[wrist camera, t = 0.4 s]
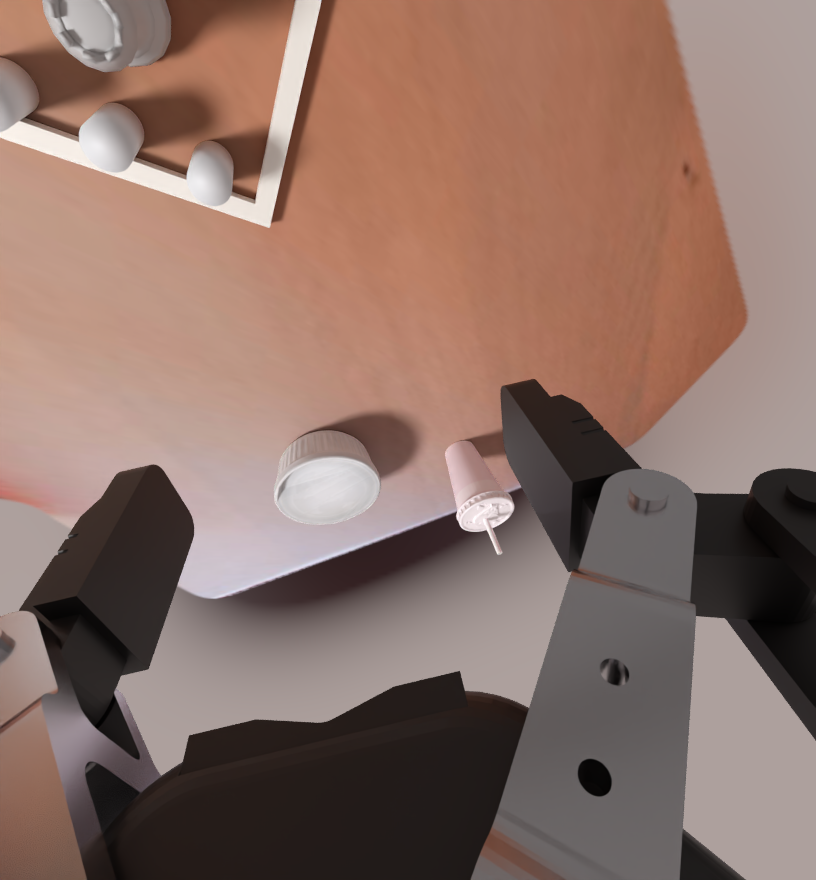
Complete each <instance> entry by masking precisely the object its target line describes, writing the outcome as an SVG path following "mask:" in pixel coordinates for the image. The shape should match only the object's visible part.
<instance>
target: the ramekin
mask: <svg viewBox="0 0 816 880" xmlns="http://www.w3.org/2000/svg"><path fill="white" fill-rule="evenodd" d="M380 489H381V480H380V476H379V473H378V471H377V469H376V467H375V466H374V465H373V463H372V461H371V459H370V457H369V455H368V452H367V450H366V449H365V447H364V445H363V444H362V443H361V442H360V441H359V440H357V439H356V438H354V437H353V436H351V435H348V434H346V433H343V432H339V431H333V430H323V431H316V432H312V433H309V434H306V435H304V436H302V437H300V438H298V439H297V440H295V441H294V442H293V443H291V444H290V445H289V446H288V447H287V449H286V450H285V451H284V453H283V455H282V457H281V459H280V463H279V469H278V476H277V480H276V482H275V486H274V500H275V503H276V505H277V507H278V509H279V510H280V511H281V512H282V513H283V514H284V515H285V516H287V517H289V518H290V519H292V520H295V521H297V522H301V523H305V524H312V525H326V524H334V523H338V522H342V521H345V520H348V519H351V518H353V517H355V516H357V515H359V514H361V513H363V512H364V511H366V510H367V509H368V508H370V507H371V505H372V504H373V503H374V502H375V500H376V499H377V497H378V495H379V493H380Z"/></svg>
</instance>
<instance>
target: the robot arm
mask: <svg viewBox="0 0 816 880" xmlns="http://www.w3.org/2000/svg"><path fill="white" fill-rule="evenodd" d="M501 410H502V426H503V441H504V448H505V452H506V456H507V459H508V462H509V464H510V466H511V468H512V470H513V472H514V474H515V476H516V477H517V479H518V481H519V483H520V485H521V487H522V488H523V490H524V492H525V494H526V496H527V498H528V499H529V501H530V503H531V505H532V507H533V508H534V510H535V512H536V514H537V516H538V518H539V519H540V521H541V523H542V525H543V527H544V529H545V530H546V532H547V534H548V536H549V537H550V539H551V541H552V543H553V545H554V547H555V549H556V551H557V552H558V554H559V556H560V558H561V559H562V562H563V563H564V565H565V567H566V569H567V571H568V572H571V571H572V573H571V575H570V578H569V581H568V584H567V587H566V590H565V593H564V597H563V600H562V603H561V606H560V610H559V613H558V616H557V620H556V623H555V626H554V629H553V632H552V636H551V639H550V642H549V645H548V649H547V652H546V655H545V658H544V662H543V665H542V668H541V671H540V675H539V678H538V681H537V685H536V688H535V691H534V694H533V698H532V701H531V704H530V707H529V708H528V707H526V706H524V705H522V704H520V703H518V702H515V701H513V700H510V699H507V698H504V697H501V696H498V695H494V694H488V693H483V692H473V691H465V690H464V686H463V682H462V678H461V674H460V671H458V672H454V673H450V674H445V675H441V676H437V677H433V678H428V679H424V680H420V681H416V682H412V683H407V684H403V685H399V686H395V687H392V688H391V689H389V690H387V691H385V692H383V693H381V694H379V695H377V696H376V697H374V698H372V699H370V700H368V701H366V702H364V703H362V704H361V705H359V706H357V707H355V708H353V709H351V710H349V711H347V712H346V713H344V714H342V715H340V716H338V717H336V718H334V719H332V720H330V721H328V722H323V723H311V722H292V721H274V720H252V721H248V722H244V723H240V724H235V725H231V726H227V727H223V728H219V729H214V730H210V731H206V732H202V733H198V734H193V735H190V736H189V738H188V742H187V747H186V751H185V755H184V759H183V762H182V763H181V764H179V765H177V766H176V767H174V768H173V769H171V770H170V771H168V772H166V773H165V774H163V775H162V776H161V775H160V773H159V772H158V770H157V769H156V767H155V765H154V763H153V761H152V758H151V756H150V754H149V752H148V749H147V747H146V745H145V743H144V740H143V738H142V736H141V734H140V731H139V729H138V727H137V724H136V722H135V720H134V718H133V715H132V713H131V711H130V709H129V706H128V704H127V702H126V700H125V697H124V696H123V694H122V693H121V692H120V691H119V690H117V689H116V687H117V684H118V681H119V679H120V677H121V676H122V675H126V674H130V673H134V672H139V671H143V670H147V669H149V666H150V663H151V660H152V657H153V654H154V651H155V648H156V646H157V643H158V640H159V637H160V634H161V631H162V628H163V625H164V622H165V619H166V616H167V613H168V610H169V607H170V605H171V601H172V599H173V596H174V593H175V590H176V587H177V584H178V581H179V578H180V575H181V573H182V570H183V567H184V564H185V561H186V558H187V555H188V552H189V549H190V546H191V543H192V540H193V537H194V524H193V519H192V516H191V514H190V512H189V510H188V509H187V507H186V505H185V504H184V502H183V501H182V499H181V497H180V496H179V494H178V493H177V491H176V490H175V488H174V486H173V485H172V483H171V482H170V480H169V478H168V477H167V475H166V474H165V472H164V471H163V470H162V469H161V468H160V467H159V466H157V465H149V466H144V467H140V468H135V469H131V470H127V471H122V472H119V473H118V474H116V476H115V477H114V479H113V480H112V482H111V483H110V485H109V487H108V488H107V490H106V491H105V493H104V494H103V496H102V498H101V499H99V500H98V501H97V502H96V503H95V504H94V505H93V506H92V507H91V508H90V509H89V510H87V511H86V512H85V513H84V514H83V515H82V516H81V517H80V518H79V520H78V521H77V523H76V524H75V526H74V527H73V529H72V530H71V532H70V534H69V535H68V537H69V539H66V540H65V541H64V543H63V544H62V546H61V547H60V549H59V550H58V555H56V556H54V558H53V559H52V561H51V562H50V564H49V566H48V567H47V568H46V570H45V572H44V573H43V575H42V576H41V578H40V579H39V581H38V582H37V584H36V585H35V587H34V588H33V590H32V591H31V593H30V594H29V596H28V598H27V599H26V600H25V602H24V603H23V605H22V606H21V608H20V610H19V611H17V612H12V613H8V614H6V615H4V616H0V880H745V879H744V878H743V877H742V876H740V875H739V874H738V873H737V872H736V871H734V870H733V869H732V868H731V867H729V866H728V865H727V864H726V863H725V862H723V861H722V860H721V859H720V858H718V857H717V856H716V855H715V854H714V853H712V852H711V851H710V850H709V849H707V848H706V847H705V846H704V845H702V844H701V843H700V842H699V841H697V840H696V839H695V838H694V837H692V836H691V835H690V834H689V833H688V832H686V831H685V830H684V829H683V816H684V800H685V784H686V768H687V751H688V735H689V720H690V703H691V687H692V672H693V655H694V639H695V622H696V616H704V617H717V618H725V619H726V620H727V621H728V623H729V624H730V625H731V627H732V628H733V629H734V631H735V632H736V633H737V635H738V636H739V637H740V639H741V640H742V642H743V643H744V644H745V646H746V647H747V648H748V650H749V651H750V652H751V654H752V655H753V656H754V658H755V659H756V660H757V662H758V663H759V664H760V666H761V667H762V669H763V670H764V671H765V673H766V674H767V675H768V677H769V678H770V679H771V681H772V682H773V683H774V685H775V686H776V687H777V689H778V690H779V691H780V693H781V694H782V695H783V697H784V698H785V700H786V701H787V702H788V704H789V705H790V706H791V708H792V709H793V710H794V712H795V713H796V714H797V716H798V717H799V718H800V720H801V721H802V722H803V724H804V725H805V727H806V728H807V729H808V731H809V732H810V733H811V735H812V736H813V737H814V739H815V740H816V472H813V471H809V470H802V469H791V468H788V469H775V470H771V471H767V472H764V473H762V474H760V475H759V476H758V477H756V479H755V480H754V481H753V484H752V487H751V490H750V493H749V494H703V493H693V492H692V490H691V489H690V488H689V487H688V486H687V485H686V484H685V483H683V482H682V481H681V480H679V479H677V478H675V477H673V476H671V475H668V474H666V473H663V472H659V471H655V470H649V469H642V468H641V467H640V466H639V465H638V464H637V463H636V462H635V461H634V460H633V459H632V458H631V457H630V455H629V454H628V453H627V452H626V451H625V450H624V449H623V448H622V447H621V446H620V445H619V444H618V443H617V442H616V441H615V440H614V438H613V437H612V436H611V435H610V434H609V433H608V432H607V431H606V430H605V431H604V430H603V427H602V426H601V425H600V424H599V422H598V421H597V420H596V419H593V416H592V415H591V414H590V413H589V412H588V411H587V410H586V409H585V408H584V406H583V405H582V404H581V403H578V402H576V401H574V400H572V399H570V398H568V397H566V396H564V395H557V396H553V397H550V396H549V395H548V393H547V392H546V391H545V390H544V389H543V388H542V386H541V385H540V384H539V383H538V382H537V381H536V380H535V379H531V380H527V381H522V382H518V383H513V384H509V385H505V386H502V387H501Z"/></svg>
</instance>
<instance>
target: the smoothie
mask: <svg viewBox="0 0 816 880" xmlns="http://www.w3.org/2000/svg"><path fill="white" fill-rule="evenodd" d="M445 457H446V461H447V465H448V470H449V474H450V479H451V483H452V487H453V492H454V496H455V501H456V505H457V509H458V512H457V520H458V521H459V524H460V526H461V528H463V529H464V530H467V531H472V532H478V531H484V530H487V531H488V533H489V535H490V538H491V540H492V543H493V545H494V547H495V550H496V552H497V554H498V555H500V554H502V550H501V548H500V546H499V543H498V541H497V539H496V536H495V534H494V532H493V529H492V528H494V527H496V526H498V525H499V524H501V523H503V522H504V521H506V520H507V519H508V518H509V517H510V515H511V514H512V512H513V510H514V503H513V501H512V498H511V496H510V495H509V494H508V493H507V492H504V490H503V489H502V487H501V486H500V484H499V483H498V481H497V480H496V478H495V477H494V475H493V474H492V472H491V471H490V469H489V468H488V466H487V465H486V463H485V462H484V460H483V459H482V457H481V456H480V454H479V453H478V451H477V450H476V448H475V447H474V445H473V444H472V443H471V442H470V441H458V442H456V443H454V444H452V445H451V446H449V447H448V449H447V450H446V452H445Z"/></svg>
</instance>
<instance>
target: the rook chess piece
mask: <svg viewBox="0 0 816 880" xmlns="http://www.w3.org/2000/svg"><path fill="white" fill-rule="evenodd" d="M42 1H43V9H44V14H45V16H46V18H47V20H48V23H49V25H50V27H51V29H52V31H53V33H54V35H55V36H56V38H57V39H58V40H59V41H60V42H61V44H62V45H63V46H64V47H65V49H66V50H67V51H68V52H69V53H70V54H71V55H72V56H74V57H75V58H76V59H78V60H79V61H81V62H82V63H83V64H85V65H86V66H88V67H91V68H94V69H97V70H100V71H102V72H113V71H121V70H122V69H123V68H125V67H126V66H129V67H136V66H148V65H151V64H152V63H154V62H155V61H157V60H158V59H159V58H161V57H162V56H164V54H165V51H166V49H167V47H168V45H169V42H170V40H171V16H170V13H169V10H168V7H167V3H166V0H42Z"/></svg>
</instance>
